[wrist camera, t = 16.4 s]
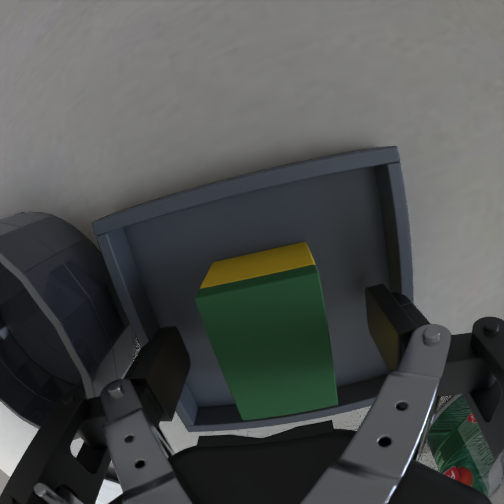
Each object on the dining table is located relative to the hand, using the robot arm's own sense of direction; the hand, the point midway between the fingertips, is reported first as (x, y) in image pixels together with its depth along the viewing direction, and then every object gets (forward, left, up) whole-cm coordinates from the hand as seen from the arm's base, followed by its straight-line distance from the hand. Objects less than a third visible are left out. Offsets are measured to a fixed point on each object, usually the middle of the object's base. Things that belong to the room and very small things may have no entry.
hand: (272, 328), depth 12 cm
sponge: (0, 0, -1) cm, 1 cm away
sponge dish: (0, 0, -2) cm, 2 cm away
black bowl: (-2, -13, -2) cm, 13 cm away
